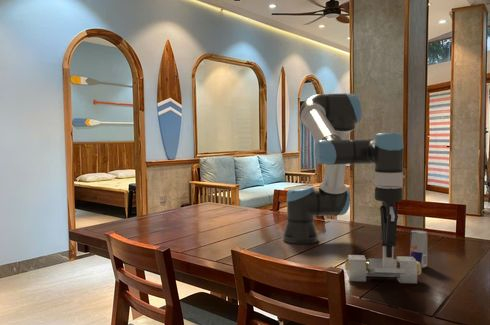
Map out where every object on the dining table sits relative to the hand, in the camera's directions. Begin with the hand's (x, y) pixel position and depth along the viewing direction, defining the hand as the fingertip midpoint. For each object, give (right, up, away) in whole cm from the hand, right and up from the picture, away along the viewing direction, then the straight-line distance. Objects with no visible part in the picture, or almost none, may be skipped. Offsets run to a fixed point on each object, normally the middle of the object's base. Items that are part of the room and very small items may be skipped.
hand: (387, 267), depth 117 cm
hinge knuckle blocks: (+2, -6, +13) cm, 15 cm away
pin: (+2, -4, +10) cm, 11 cm away
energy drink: (+19, -6, +23) cm, 30 cm away
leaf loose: (0, -3, +4) cm, 5 cm away
